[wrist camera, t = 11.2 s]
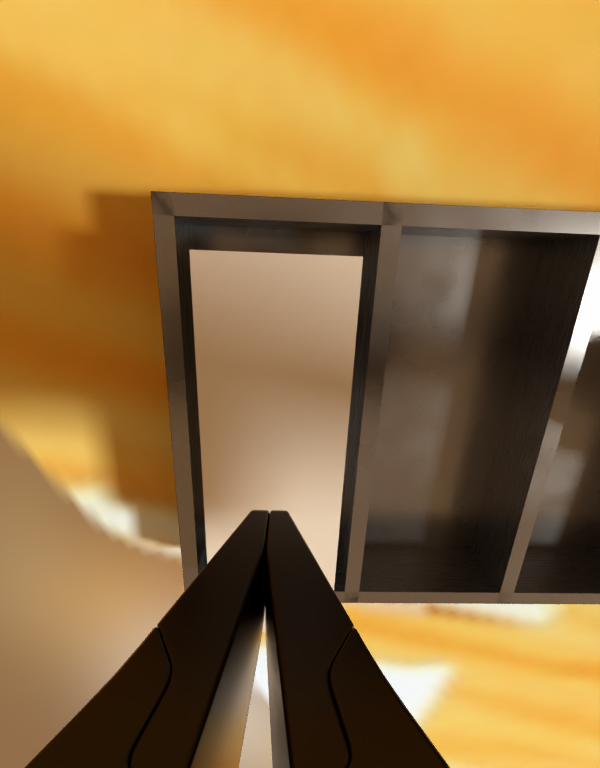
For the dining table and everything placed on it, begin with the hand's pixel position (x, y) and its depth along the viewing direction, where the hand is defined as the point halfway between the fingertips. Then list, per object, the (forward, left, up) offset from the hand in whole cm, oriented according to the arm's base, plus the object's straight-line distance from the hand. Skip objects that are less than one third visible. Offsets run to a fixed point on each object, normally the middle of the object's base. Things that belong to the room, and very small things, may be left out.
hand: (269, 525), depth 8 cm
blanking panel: (0, 0, -7) cm, 7 cm away
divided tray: (-6, 0, -7) cm, 10 cm away
